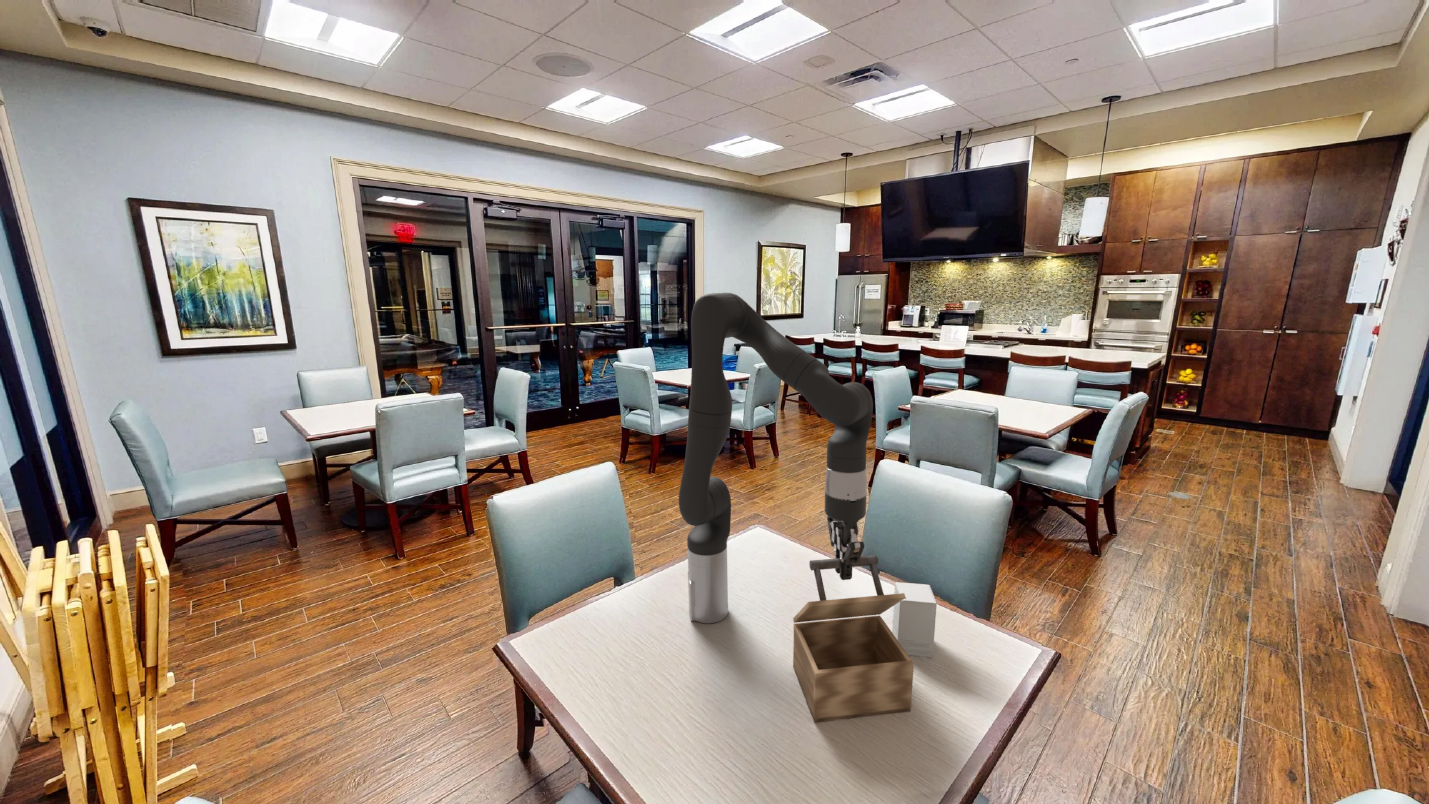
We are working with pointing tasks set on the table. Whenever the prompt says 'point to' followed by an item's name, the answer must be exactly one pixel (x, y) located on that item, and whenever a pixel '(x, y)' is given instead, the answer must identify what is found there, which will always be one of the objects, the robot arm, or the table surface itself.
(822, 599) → the wooden box lid
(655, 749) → the table surface
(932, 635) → the supplement box
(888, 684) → the wooden box
